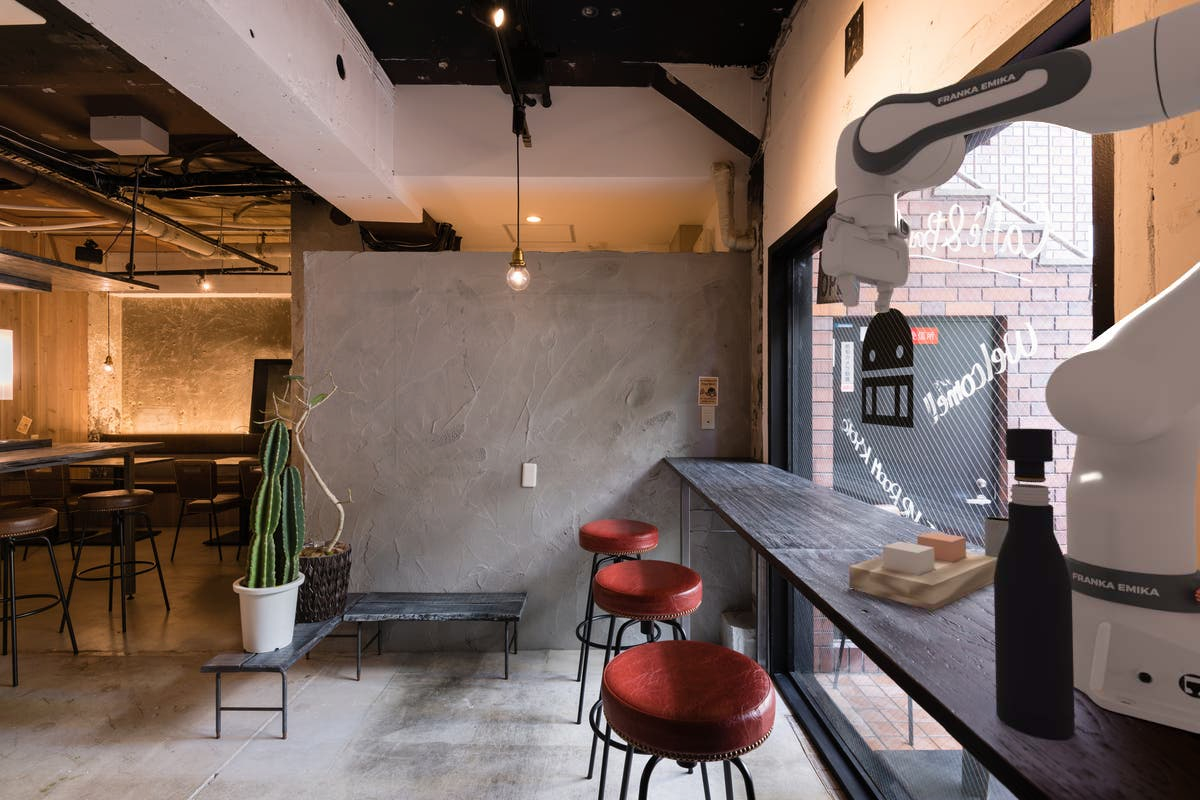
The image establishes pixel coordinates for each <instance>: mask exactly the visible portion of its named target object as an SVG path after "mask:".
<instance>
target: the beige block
mask: <svg viewBox="0 0 1200 800" xmlns="http://www.w3.org/2000/svg"><path fill="white" fill-rule="evenodd" d="M882 556H883V568H886V569H891V570H895V571H900V572H904V573H909V574H913V575H918V576H920V575H923V574H925V573H928V572H931V571H933V570H935V569H934V548H933V547H928V546H922V545H918V544H917V543H916V544H915V543H911V542H910V543H909V542H904V541H896V542H893V543H890V544H886V545H883V546H882Z"/></svg>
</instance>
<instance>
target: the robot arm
mask: <svg viewBox="0 0 1200 800" xmlns="http://www.w3.org/2000/svg"><path fill="white" fill-rule="evenodd" d="M1199 111H1200V1H1196V2H1194V3H1191V4H1187V5H1185V6H1182V7H1179V8H1177V9H1175V10H1172V11H1169V12H1166V13H1164V14H1162V15H1159V16H1156V17H1154V18H1151V19H1149V20H1146V21H1144V22H1141V23H1138V24H1136V25H1133V26H1130V27H1128V28H1125V29H1123V30H1119V31H1117V32H1114V33H1112V34H1109V35H1106V36H1103V37H1101V38H1097V39H1095V40H1094V39H1093V40H1092V41H1089V42H1085V43H1081V44H1079V45H1076V46H1072V47H1067V48H1064V49H1060V50H1056V51H1053V52H1049V53H1045V54H1042V55H1037V56H1034V57H1030V58H1028V59H1024V60H1021V61H1020V60H1019V61H1017V62H1015V63H1011V64H1009V65H1006V66H1003V67H999V68H997V69H993V70H990V71H988V72H985V73H982V74H979V75H976V76H973V77H970V78H967V79H965V80H961V81H958V82H955V83H953V84H950V85H947V86H944V87H941V88H937V89H934V90H931V91H926V92H920V93H910V92H909V93H907V92H905V93H895V94H891V95H888V96H886V97H884V98H882V99H880V100H878V101H877V102H876V103H874V105H872V106H871V107H870V108H869V109H868V110H867V111H866V112H865V114H864V115H862V116H860V117H858V118H855V119H854V120H852V121H850V122H849V123H848V124H847V125H846V126H845V127H844V128H843V129H842V131H841V133H840V135H839V137H838V141H837V146H836V151H835V162H834V163H835V164H834V165H835V167H834V169H835V170H834V172H835V173H834V181H835V186H836V189H837V199H836V203H835V212H834V213H833V214H832V215H830V217H829V218H828V220H827V228H826V230H825V231H824V233H823V239H822V244H821V245H822V247H821V261H820V263H821V268H822V271H823V273H824V274H825V275H827V276H830V277H831V276H832V277H835V278H837V285H838V288H839V289H840V293H841V296H842V305H843V307H847V308H855V307H858V306H859V304H860V301H859V299H860V297H859V296H860V294H857V292H856V287H855V283H856V282H857V283H861V284H866V285H868V286H869V285H870V286H874V287H876V293H877V294H878V295H877V299H876V301H874V312H875V313H876V312H877V313H881V314H883V313H888V312H889V311H890V309H891V306H890V301H891V300H892V297H893V294H894V288H899V287H904V286H905V285H906V283H907V281H908V279H909V278H908V277H909V267H910V265H909V264H910V262H909V261H910V253H909V252H910V250H909V244H908V242H907V239H910V238H911V235H912V234H911V232H912V231H911V226H910V224H909V223H908V222H907V221H906V220H905V219H904V218H903V216H902V215H901V213H900V209H898V208H897V197H898V195H899V194H900V193H906V192H907V193H908V192H909V193H910V192H918V191H925V190H930V189H935V188H937V187H940V186H942V185H944V184H945V183H947V182H949V181H950V180H951V179H953V177H954V176H955V175H956V174H957V172H958V171H959V169H960V168H961V166H962V165H963V163H964V160H965V157H966V152H967V140H966V137H965V136H966V135H969V134H972V133H976V132H980V131H983V130H986V129H990V128H994V127H997V126H1000V125H1007V124H1010V123H1011V124H1012V123H1041V124H1046V125H1052V126H1056V127H1060V128H1065V129H1069V130H1072V131H1076V132H1079V133H1082V134H1087V135H1094V136H1095V135H1105V134H1112V133H1120V132H1126V131H1132V130H1135V129H1141V128H1144V127H1148V126H1152V125H1156V124H1159V123H1162V122H1166V121H1169V120H1172V119H1175V118H1179V117H1183V116H1185V115H1189V114H1192V113H1194V112H1199ZM1044 391H1045V393H1044V396H1045V397H1044V398H1045V403H1046V406H1047V409H1048V410H1049V413H1050V414H1051V416H1052V418H1054V420H1055V421H1056V422H1057V423H1058V424H1059V425H1060V426H1061V427H1063V428H1064V429H1065V430H1066V431H1068V432H1070V433H1072V434H1073V435H1075V436H1076V444H1075V450H1074V456H1073V462H1072V467H1071V472H1070V476H1069V481H1068V483H1067V486H1066V488H1065V510H1066V511H1065V513H1066V514H1065V517H1066V518H1065V519H1066V553H1064V554H1063V556H1064V558H1065V561H1066V564H1067V568H1068V572H1069V576H1070V580H1071V585H1072V620H1073V667H1074V688H1076V689H1078V690H1079V691H1081V692H1082V693H1084V694H1085V695H1087V696H1088V698H1090V699H1091V700H1092V701H1093V703H1095V704H1096V705H1098V706H1099V707H1100V708H1103V709H1106V710H1107V711H1110V712H1111V711H1112V712H1114V713H1117V714H1122V715H1126V716H1131V717H1135V718H1137V719H1142V720H1144V721H1145V720H1146V721H1149V722H1154V723H1157V724H1160V725H1165V726H1168V727H1172V728H1176V729H1180V730H1184V731H1187V732H1191V733H1195V734H1199V735H1200V569H1198V567H1197V566H1198V564H1197V563H1198V561H1197V526H1196V525H1197V523H1196V521H1197V519H1196V493H1197V481H1198V473H1199V471H1198V470H1199V461H1200V460H1199V458H1200V261H1199V262H1197V263H1196V264H1195V265H1194V266H1193V267H1192V268H1190V269H1189V270H1188V271H1187V272H1186V273H1185V274H1183V275H1182V276H1181V277H1180V278H1178V279H1177V280H1176V281H1175V282H1173V283H1172V284H1171V285H1170V286H1168V287H1167V288H1166V289H1164V290H1163V291H1162V292H1160V293H1159V294H1158V295H1155V296H1154V297H1153V298H1151V299H1150V300H1149V301H1147V302H1145V303H1144V304H1142V305H1141V306H1140V307H1138V308H1137V309H1135V310H1134V311H1133V312H1131V313H1129V314H1128V315H1127V316H1125V317H1124V318H1123V319H1121V320H1120V321H1118V322H1117V323H1115V324H1114V325H1113V326H1111V327H1110V328H1108V329H1107V330H1106V331H1104V332H1103V333H1102V334H1101V335H1099V336H1097V337H1096V338H1095V339H1094V340H1092V341H1091V342H1090V343H1088V344H1087V345H1086V346H1084V347H1083V348H1082V349H1080V350H1079V351H1078V352H1077V353H1074V354H1073V355H1072V356H1070V357H1068V358H1067V359H1065V360H1064V361H1062V362H1061V363H1060V364H1059V365H1058V366H1057V367H1056V368H1055V369H1054V370H1053V372H1052V373H1051V375H1050V376H1049V378H1048V380H1047V382H1046V386H1045V390H1044Z"/></svg>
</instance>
